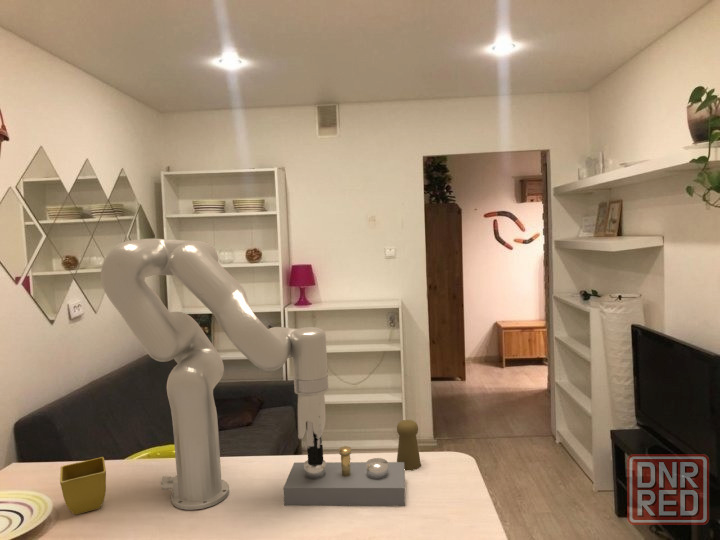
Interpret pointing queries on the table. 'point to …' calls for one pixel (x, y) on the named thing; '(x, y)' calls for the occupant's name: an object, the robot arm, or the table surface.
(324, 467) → the knob
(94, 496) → the flower pot
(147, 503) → the table surface
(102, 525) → the table surface
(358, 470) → the mount
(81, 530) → the table surface
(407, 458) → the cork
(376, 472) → the knob
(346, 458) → the brass shaft
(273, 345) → the robot arm
